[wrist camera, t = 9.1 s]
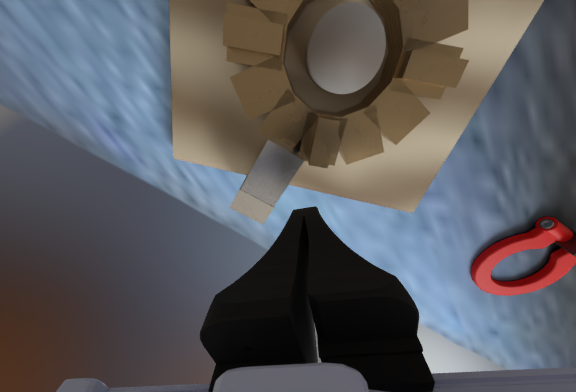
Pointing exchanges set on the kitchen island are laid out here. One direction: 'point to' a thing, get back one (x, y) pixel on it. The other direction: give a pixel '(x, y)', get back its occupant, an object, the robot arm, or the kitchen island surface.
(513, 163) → the kitchen island surface
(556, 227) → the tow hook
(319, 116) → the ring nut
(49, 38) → the kitchen island surface
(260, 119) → the spindle board
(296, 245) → the robot arm
